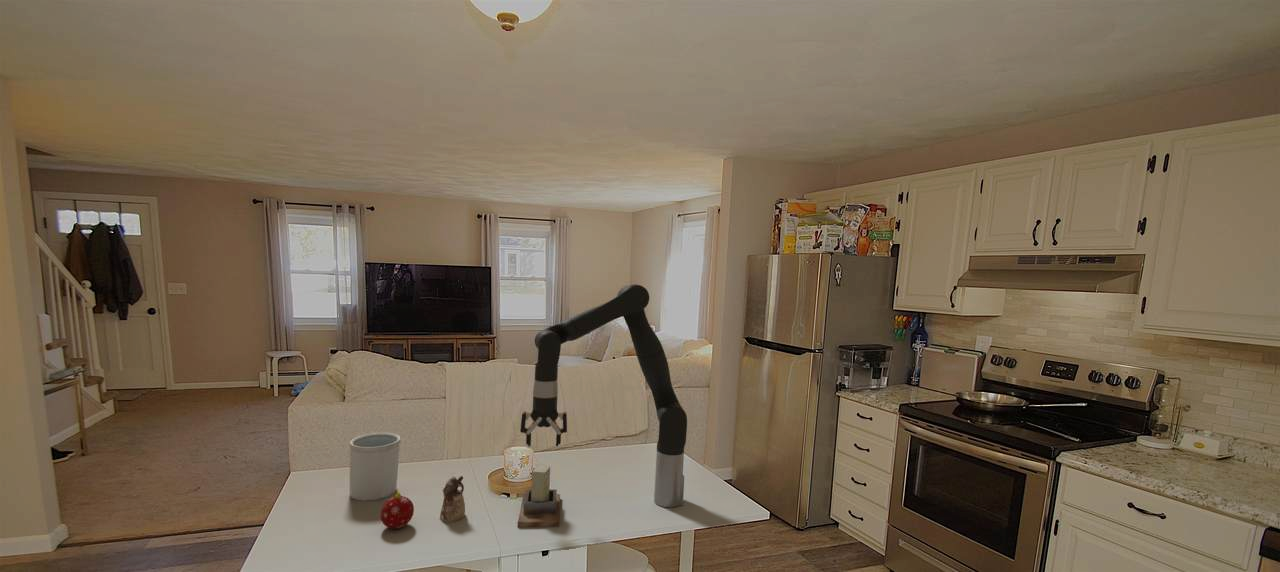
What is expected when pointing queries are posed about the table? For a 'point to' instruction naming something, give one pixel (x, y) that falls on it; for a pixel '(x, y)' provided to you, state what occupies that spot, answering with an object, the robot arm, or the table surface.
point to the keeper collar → (540, 504)
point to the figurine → (453, 501)
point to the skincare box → (540, 483)
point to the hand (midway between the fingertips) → (543, 445)
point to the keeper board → (539, 517)
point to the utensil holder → (373, 465)
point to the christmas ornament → (397, 512)
